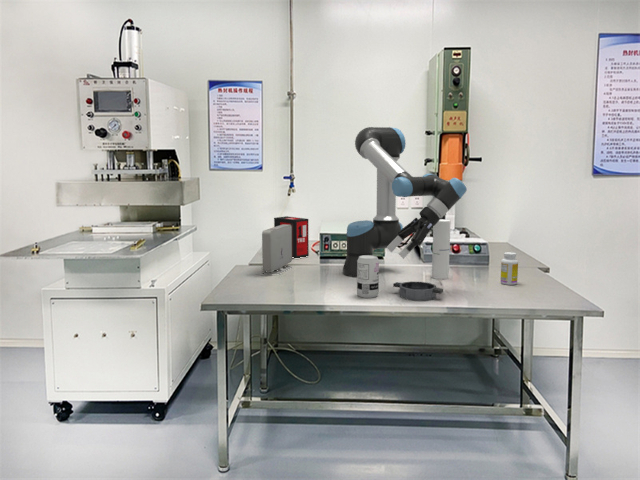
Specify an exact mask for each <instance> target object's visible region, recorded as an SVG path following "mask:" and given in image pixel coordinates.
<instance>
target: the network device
mask: <svg viewBox="0 0 640 480" xmlns="http://www.w3.org/2000/svg"><path fill="white" fill-rule="evenodd" d="M261 244H262V246H261V247H262V248H261V253H262V257H261V258H262V260H261V261H262V272H261V273H262V274H263V273H264V274H263V275H268V274H279V275H281V274H280V273H282V272H284V271H285V272H287V271H289V270H291V269H293V266H292V265H289V264H290V263H292V260H293V259H292V226H291V225H286V224H283V225H280V226H276V227H274V226H273V227H271V228H268V229H264V230H262V233H261ZM282 266H286V267H285V268H284V267H282ZM290 268H291V269H290ZM288 269H289V270H288ZM274 270H278V271H277V272H275V271H274ZM286 270H287V271H286ZM266 271H267V272H266ZM285 272H284V273H285ZM282 274H283V273H282Z"/></svg>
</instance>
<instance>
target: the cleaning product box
mask: <svg viewBox="0 0 640 480" xmlns="http://www.w3.org/2000/svg"><path fill="white" fill-rule="evenodd" d="M273 224H274V225H273V227H276V226H280V225H283V224H286V225H291V226H292V257H294V258H300V257H306V256H310V255H309V253H310V252H309V250H310V249H309V218H303V217H296V216H287V215H286V216H279V217H274V218H273ZM306 258H307V257H306ZM300 259H301V258H300Z"/></svg>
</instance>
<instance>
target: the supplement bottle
mask: <svg viewBox="0 0 640 480" xmlns="http://www.w3.org/2000/svg"><path fill="white" fill-rule="evenodd" d="M503 256H504V258H502V259H501V260H500V261H501V264H500V283H501V284H502V285H506V286H514V285H517V284H518V277H519V275H518V274H519V260H517V259H516V257H517V253H516V252H510V251H509V252H508V251H507V252H504V253H503Z"/></svg>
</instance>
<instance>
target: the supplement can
mask: <svg viewBox="0 0 640 480" xmlns="http://www.w3.org/2000/svg"><path fill="white" fill-rule="evenodd" d="M379 274H380V260H379V258H378V256H376V255H374V254H373V255H362V256H359V258H358V260H357V278H356V295H358V297H360V298H365V299H373V298H377V296H378V295H379V293H380V292H379V288H380V287H379V283H380V282H379V278H380V275H379Z"/></svg>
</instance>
